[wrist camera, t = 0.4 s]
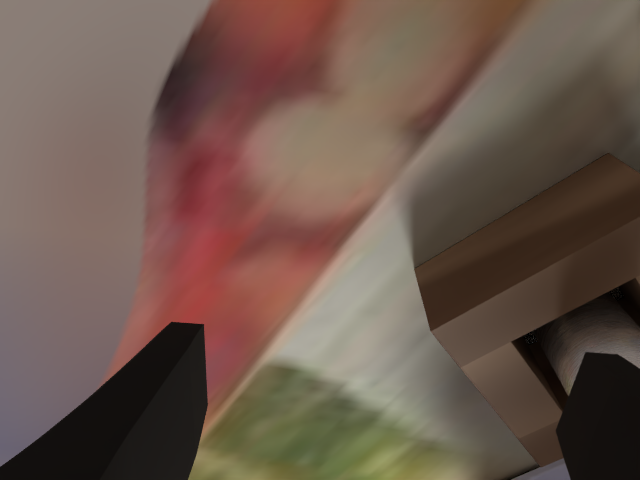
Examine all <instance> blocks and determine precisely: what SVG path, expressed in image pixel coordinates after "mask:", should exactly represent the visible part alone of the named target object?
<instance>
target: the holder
mask: <svg viewBox="0 0 640 480" xmlns="http://www.w3.org/2000/svg"><path fill="white" fill-rule="evenodd" d="M414 270H415V274H416V278H417V282H418V285H419V289H420V293H421V297H422V300H423V304H424V308H425V312H426V316H427V319H428V323H429V327H430V331H431V332H432V334H433V335H434V336H435V337H436V339H437V340H438V341H439V342H440V344H441V345H442V346H443V347H444V348H445V350H446V351H447V352H448V353H449V355H450V356H451V357H452V358H453V360H454V361H455V362H456V363H457V365H458V366H459V367H460V368H461V369H462V371H463V372H464V373H465V374H466V376H467V377H468V378H469V379H470V381H471V382H472V383H473V384H474V386H475V387H476V388H477V389H478V390H479V392H480V393H481V394H482V395H483V397H484V398H485V399H486V400H487V402H488V403H489V404H490V405H491V406H492V408H493V409H494V410H495V411H496V413H497V414H498V415H499V416H500V418H501V419H502V420H503V421H504V423H505V424H506V425H507V426H508V427H509V429H510V430H511V431H512V432H513V434H514V435H515V436H516V437H517V439H518V440H519V441H520V442H521V444H522V445H523V446H524V447H525V448H526V450H527V451H528V452H529V453H530V455H531V456H532V457H533V458H534V460H535V461H536V462H537V463H538V464H539V466H540V467H544V466H546V465H548V464H551V463H553V462H555V461H558V460H560V459H563V454H562V451H561V447H560V444H559V441H558V437H557V434H556V428H557V425H558V423H559V420H560V417H561V415H562V412H563V410H564V407H565V404H566V402H567V399H568V395H567V393H566V391H565V389H564V387H563V385H562V384H561V382H560V380H559V378H558V376H557V375H556V373H555V371H554V369H553V367H552V366H551V364H550V362H549V360H548V358H547V357H546V355H545V353H544V351H543V349H542V347H541V346H540V344H539V342H538V341H537V342H535V343H533V344H531V345H528V344H527V342H526V341H525V340H524V338H523V337H522V336H523V335H525V334H527V333H529V332H531V331H533V330H535V329H537V328H539V327H541V326H542V325H544V324H546V323H548V322H550V321H552V320H554V319H556V318H558V317H560V316H562V315H564V314H566V313H568V312H570V311H572V310H574V309H576V308H577V307H579V306H581V305H583V304H585V303H587V302H589V301H591V300H593V299H595V298H597V297H599V296H601V295H603V294H605V293H607V292H609V291H611V290H612V289H614V288H616V287H619V289H620V291H621V293H622V294H623V296H624V298H622V299H620V300H618V301H617V302H618V303H619V304H620V305H621V307H622V308H623V309H624V310H625V311H626V312H627V314H628V315H629V316H630V317H631V318H632V319H633V321H634V322H635V323H636V324H637V325H638V326H639V328H640V173H638V172H637V171H635V170H634V169H632V168H631V167H629V166H628V165H626V164H624V163H623V162H621V161H620V160H618V159H617V158H615V157H614V156H612V155H611V154H609V153H607V154H606V155H604V156H602V157H601V158H599V159H597V160H596V161H594V162H592V163H591V164H589V165H587V166H586V167H584V168H582V169H581V170H579V171H577V172H576V173H574V174H572V175H571V176H569V177H567V178H566V179H564V180H562V181H561V182H559V183H557V184H556V185H554V186H552V187H551V188H549V189H547V190H546V191H544V192H542V193H541V194H539V195H537V196H536V197H534V198H532V199H531V200H529V201H527V202H526V203H524V204H522V205H521V206H519V207H517V208H516V209H514V210H512V211H511V212H509V213H507V214H506V215H504V216H502V217H501V218H499V219H497V220H496V221H494V222H492V223H491V224H489V225H487V226H486V227H484V228H482V229H480V230H479V231H477V232H475V233H474V234H472V235H470V236H469V237H467V238H465V239H464V240H462V241H460V242H459V243H457V244H455V245H454V246H452V247H450V248H449V249H447V250H445V251H444V252H442V253H440V254H439V255H437V256H435V257H434V258H432V259H430V260H429V261H427V262H425V263H424V264H422V265H420V266H419V267H417V268H415V269H414Z"/></svg>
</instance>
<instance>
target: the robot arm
mask: <svg viewBox="0 0 640 480" xmlns="http://www.w3.org/2000/svg"><path fill="white" fill-rule="evenodd" d="M207 406H208V401H207V381H206V360H205V339H204V324H192V323H179V322H171V323H170V324H169V325H167V326H166V327H165V328H164V329H163V330H162V331H161V332H160V333H159V334H158V335H156V336H155V337H154V338H153V339H152V340H151V341H150V342H149V343H148V344H147V345H146V346H145V347H144V348H143V349H142V350H141V351H140V352H139V353H138V354H136V355H135V356H134V357H133V358H132V359H131V360H130V361H129V362H128V363H127V364H126V365H125V366H124V367H122V368H121V369H120V370H119V371H118V372H117V373H116V374H115V375H114V376H112V377H111V378H110V379H109V380H108V381H107V382H106V383H105V384H103V385H102V386H101V387H100V388H99V389H98V390H97V391H96V392H94V393H93V394H92V395H91V396H90V397H89V398H88V399H86V400H85V401H84V402H83V403H82V404H81V405H79V406H78V407H77V408H76V409H74V410H73V411H72V412H71V413H70V414H68V415H67V416H66V417H65V418H63V419H62V420H61V421H60V422H59V423H57V424H56V425H55V426H54V427H52V428H51V429H50V430H49V431H47V432H46V433H45V434H44V435H42V436H41V437H40V438H39V439H37V440H36V441H35V442H33V443H32V444H31V445H29V446H28V447H27V448H25V449H24V450H23V451H21V452H20V453H19V454H18V455H16V456H15V457H13V458H12V459H11V460H9V461H8V462H6V463H5V464H4V465H2V466H1V467H0V480H188V477H189V475H190V472H191V469H192V466H193V463H194V460H195V457H196V454H197V449H198V445H199V441H200V437H201V433H202V428H203V424H204V420H205V415H206V411H207ZM556 434H557V437H558V441H559V444H560V447H561V451H562V454H563V459H560V460H558V461H555V462H553V463H551V464H548V465H546V466H544V467H539V468H537V469H535V470H532V471H530V472H528V473H525V474H523V475H520V476H518V477H516V478H513V479H511V480H640V368H638V367H637V366H635V365H634V364H632V363H631V362H629V361H628V360H626V359H625V358H623V357H622V356H620V355H618V354H608V353H594V352H585V354H584V357H583V360H582V362H581V365H580V368H579V370H578V373H577V375H576V378H575V381H574V383H573V386H572V389H571V391H570V394H569V396H568V399H567V402H566V404H565V407H564V410H563V412H562V415H561V417H560V420H559V423H558V425H557V428H556Z"/></svg>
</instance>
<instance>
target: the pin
mask: <svg viewBox="0 0 640 480" xmlns="http://www.w3.org/2000/svg"><path fill="white" fill-rule="evenodd" d="M533 333H534V335H535V337H536V338H537V340H538V342H539V344H540V346H541V347H542V349H543V351H544V353H545V355H546V357H547V358H548V360H549V362H550V364H551V366H552V367H553V369H554V371H555V373H556V375H557V376H558V378H559V380H560V382H561V384H562V385H563V387H564V389H565V391H566V393H567V395H568V396H569V394H570V391H571V389H572V386H573V383H574V381H575V378H576V375H577V373H578V370H579V368H580V365H581V362H582V360H583V357H584V354H585V352H594V353H608V354H618V355H620V356H622V357H623V358H625V359H626V360H628V361H629V362H631V363H632V364H634V365H635V366H637V367H638V368H640V328H639V326H638V325H637V324H636V323H635V322H634V321H633V319H632V318H631V317H630V316H629V315H628V314H627V312H626V311H625V310H624V309H623V308H622V307H621V305H620V304H619V303H618V302H617V301H616V300H615V299H614V297H613V296H612V295H611V294H610V293H609V292H607V293H605V294H603V295H601V296H599V297H597V298H595V299H593V300H591V301H589V302H587V303H585V304H583V305H581V306H579V307H577V308H576V309H574V310H572V311H570V312H568V313H566V314H564V315H562V316H560V317H558V318H556V319H554V320H552V321H550V322H548V323H546V324H544V325H542V326H541V327H539V328H537V329H535V330H533Z"/></svg>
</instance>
